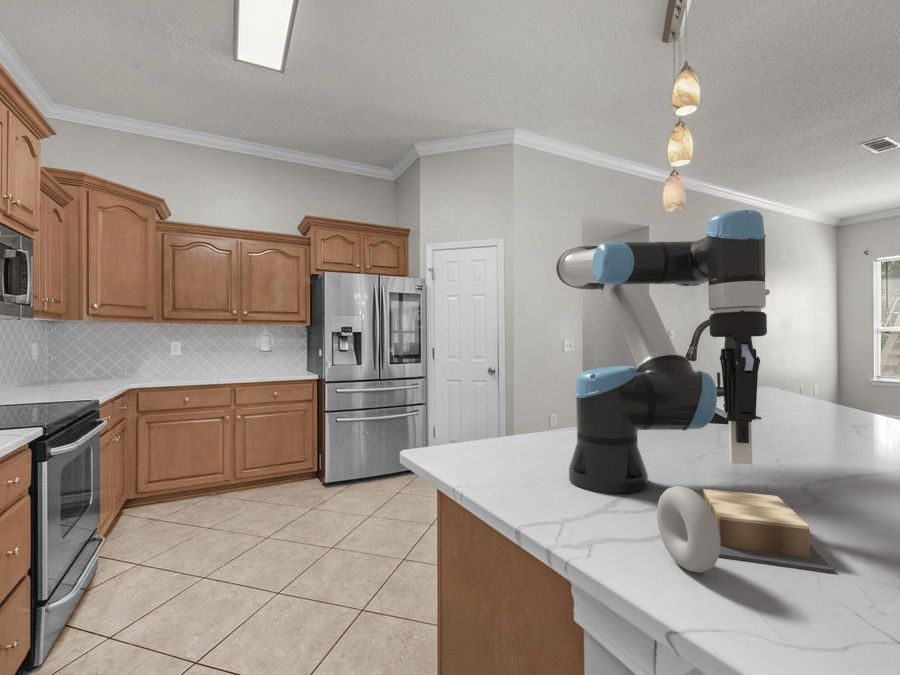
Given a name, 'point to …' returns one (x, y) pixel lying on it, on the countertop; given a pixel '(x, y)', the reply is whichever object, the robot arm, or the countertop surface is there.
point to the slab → (758, 523)
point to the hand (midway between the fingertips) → (740, 462)
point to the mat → (778, 558)
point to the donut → (688, 529)
